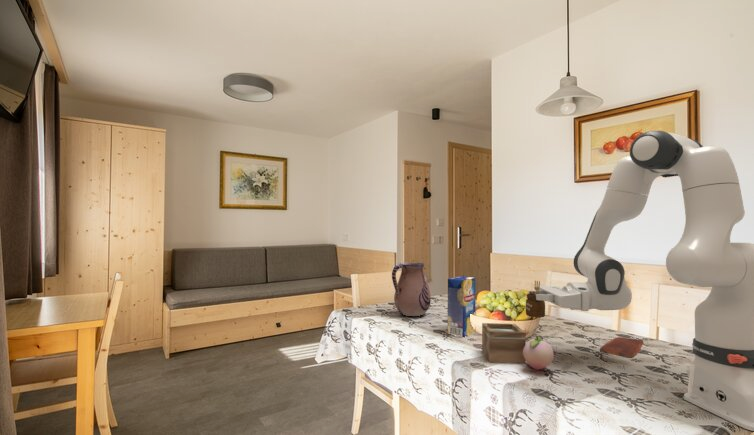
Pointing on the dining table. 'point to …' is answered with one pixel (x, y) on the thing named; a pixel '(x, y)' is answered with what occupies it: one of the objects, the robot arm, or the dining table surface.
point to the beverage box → (460, 305)
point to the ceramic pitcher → (411, 289)
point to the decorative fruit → (538, 353)
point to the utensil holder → (535, 304)
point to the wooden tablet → (622, 347)
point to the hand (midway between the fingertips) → (532, 295)
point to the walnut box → (503, 343)
